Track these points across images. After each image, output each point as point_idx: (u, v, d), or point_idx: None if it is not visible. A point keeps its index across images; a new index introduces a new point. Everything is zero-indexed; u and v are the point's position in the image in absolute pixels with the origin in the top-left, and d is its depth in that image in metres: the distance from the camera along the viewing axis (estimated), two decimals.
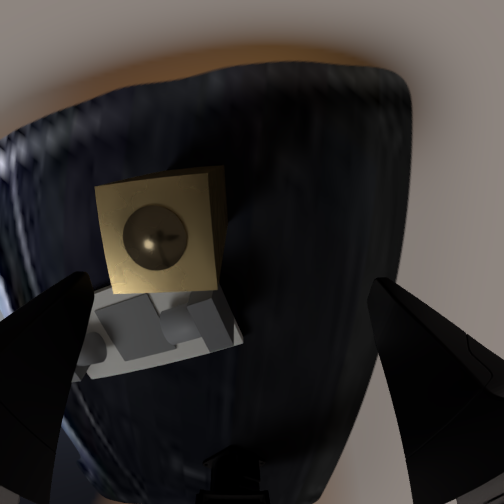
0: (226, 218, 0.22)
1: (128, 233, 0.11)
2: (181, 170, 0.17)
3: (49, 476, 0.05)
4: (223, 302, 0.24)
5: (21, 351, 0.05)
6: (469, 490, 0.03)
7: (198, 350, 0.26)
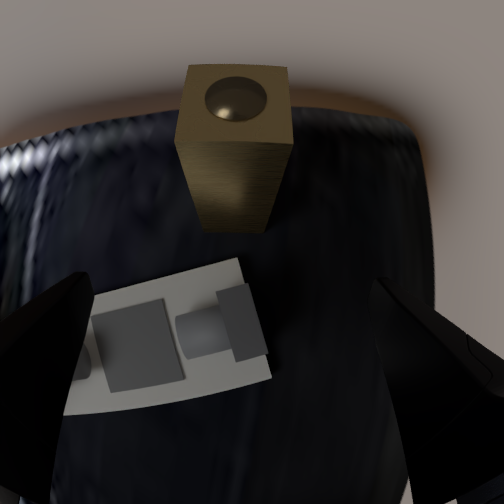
0: None
1: (211, 93, 0.11)
2: None
3: (49, 476, 0.05)
4: None
5: (21, 351, 0.05)
6: (469, 490, 0.03)
7: (212, 385, 0.19)
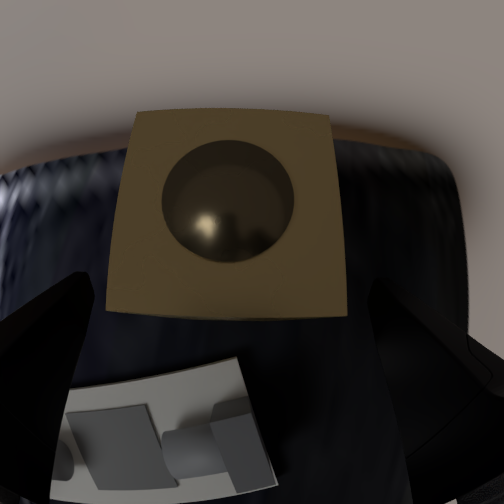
0: None
1: (175, 184, 0.06)
2: None
3: (49, 476, 0.05)
4: (258, 427, 0.15)
5: (21, 351, 0.05)
6: (469, 490, 0.03)
7: (210, 492, 0.14)
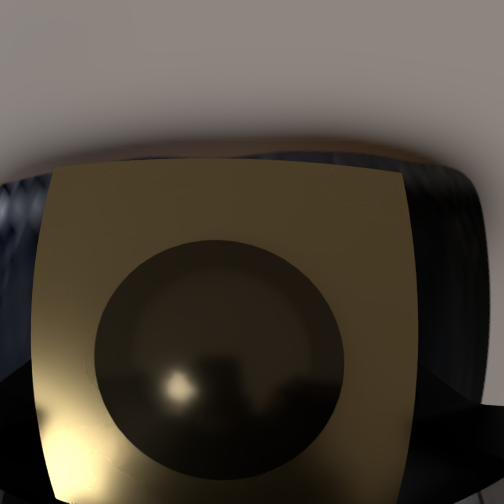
0: None
1: (116, 336, 0.03)
2: None
3: None
4: None
5: None
6: None
7: None
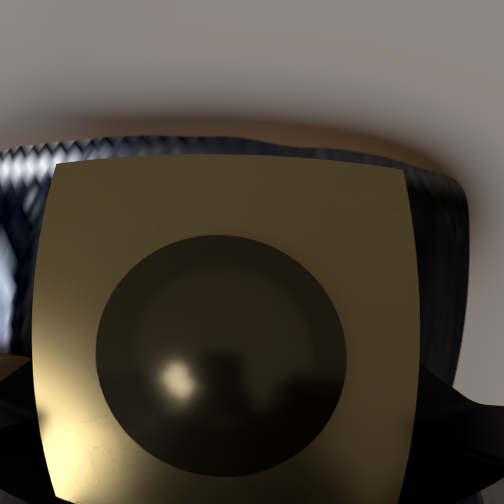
0: None
1: (118, 331, 0.03)
2: None
3: None
4: None
5: None
6: None
7: None
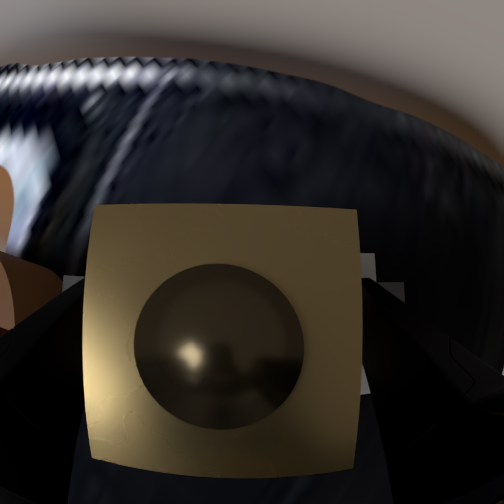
0: None
1: (149, 328, 0.04)
2: None
3: (66, 483, 0.05)
4: None
5: (40, 355, 0.05)
6: (449, 500, 0.03)
7: None
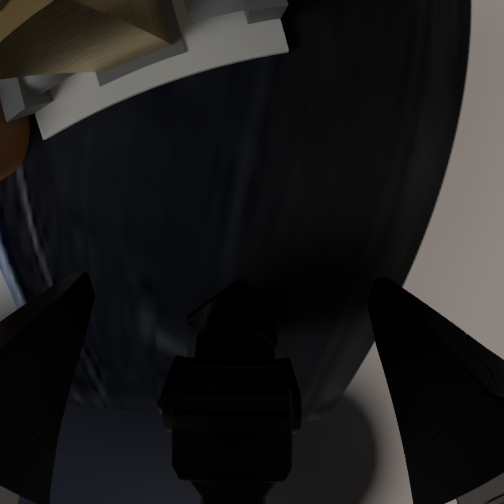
0: (162, 30, 0.12)
1: None
2: None
3: (49, 476, 0.05)
4: None
5: (21, 351, 0.05)
6: (469, 490, 0.03)
7: (219, 56, 0.15)
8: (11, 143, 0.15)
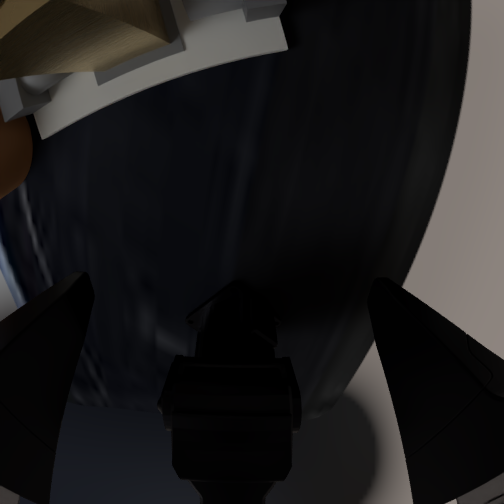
0: (160, 29, 0.12)
1: None
2: None
3: (49, 476, 0.05)
4: None
5: (21, 350, 0.05)
6: (469, 490, 0.03)
7: (217, 55, 0.15)
8: (14, 166, 0.16)
